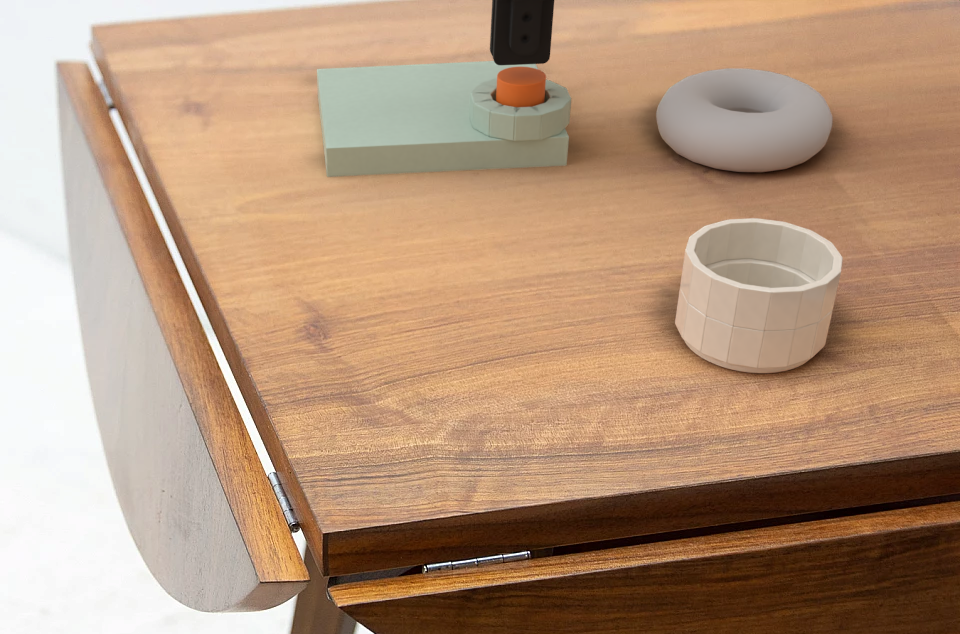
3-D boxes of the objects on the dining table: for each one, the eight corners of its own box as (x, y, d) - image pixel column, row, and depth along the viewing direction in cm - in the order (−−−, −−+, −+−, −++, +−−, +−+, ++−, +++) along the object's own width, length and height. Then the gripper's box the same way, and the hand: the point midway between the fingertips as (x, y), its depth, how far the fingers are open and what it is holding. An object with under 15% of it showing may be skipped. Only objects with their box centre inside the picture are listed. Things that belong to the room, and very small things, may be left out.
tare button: (539, 90, 82) (541, 65, 81) (548, 109, 80) (550, 83, 79) (492, 92, 82) (493, 67, 81) (499, 111, 80) (501, 86, 79)
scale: (537, 86, 91) (540, 34, 88) (573, 169, 81) (578, 112, 78) (317, 96, 90) (316, 44, 88) (327, 180, 80) (325, 124, 78)
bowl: (796, 296, 68) (812, 214, 66) (844, 373, 63) (865, 287, 60) (659, 303, 68) (670, 221, 66) (696, 381, 63) (709, 295, 60)
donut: (618, 146, 83) (758, 199, 77) (623, 91, 81) (766, 140, 75) (722, 100, 88) (862, 146, 82) (729, 47, 86) (873, 90, 80)
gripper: (653, -273, 63) (612, 109, 74) (587, -324, 75) (560, 11, 86) (488, -268, 63) (471, 115, 73) (448, -319, 75) (438, 16, 85)
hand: (519, 58), depth 79 cm, fingers closed
